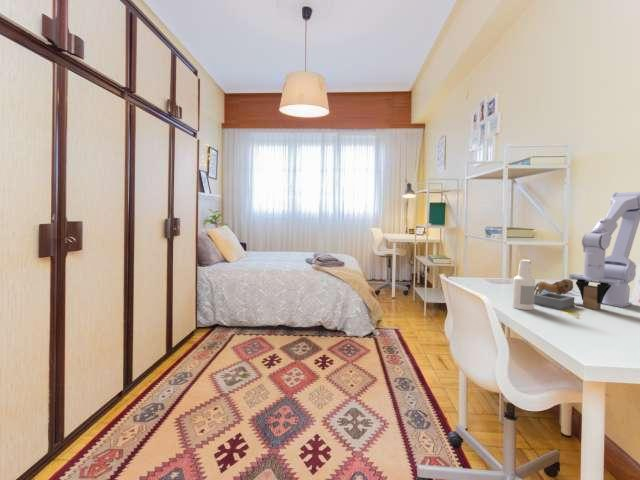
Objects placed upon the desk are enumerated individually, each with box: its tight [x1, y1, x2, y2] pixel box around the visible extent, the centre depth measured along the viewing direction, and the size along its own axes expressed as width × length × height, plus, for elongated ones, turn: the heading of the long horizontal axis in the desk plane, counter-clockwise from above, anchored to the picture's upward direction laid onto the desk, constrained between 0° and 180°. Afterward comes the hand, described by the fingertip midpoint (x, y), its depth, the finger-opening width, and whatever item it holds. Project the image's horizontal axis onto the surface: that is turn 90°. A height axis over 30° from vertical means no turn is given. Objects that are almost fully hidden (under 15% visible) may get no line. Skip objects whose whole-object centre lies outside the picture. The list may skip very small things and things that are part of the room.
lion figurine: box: [535, 278, 574, 295], centre depth 132 cm, size 15×5×9 cm, turn 45°
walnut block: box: [582, 284, 602, 311], centre depth 119 cm, size 4×4×8 cm
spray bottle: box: [511, 259, 536, 311], centre depth 119 cm, size 7×7×18 cm
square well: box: [534, 291, 575, 311], centre depth 123 cm, size 10×10×4 cm
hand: (591, 301), depth 119 cm, fingers closed on walnut block, 4 cm apart
